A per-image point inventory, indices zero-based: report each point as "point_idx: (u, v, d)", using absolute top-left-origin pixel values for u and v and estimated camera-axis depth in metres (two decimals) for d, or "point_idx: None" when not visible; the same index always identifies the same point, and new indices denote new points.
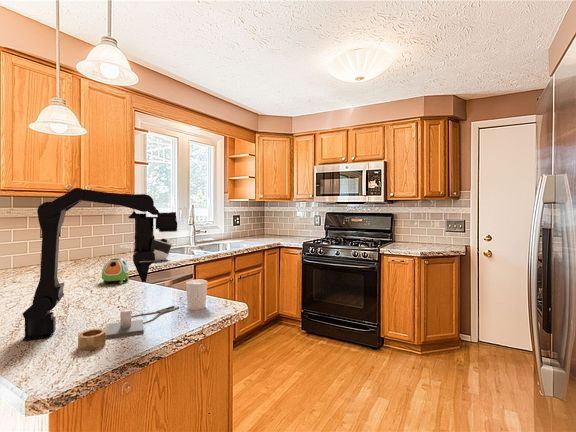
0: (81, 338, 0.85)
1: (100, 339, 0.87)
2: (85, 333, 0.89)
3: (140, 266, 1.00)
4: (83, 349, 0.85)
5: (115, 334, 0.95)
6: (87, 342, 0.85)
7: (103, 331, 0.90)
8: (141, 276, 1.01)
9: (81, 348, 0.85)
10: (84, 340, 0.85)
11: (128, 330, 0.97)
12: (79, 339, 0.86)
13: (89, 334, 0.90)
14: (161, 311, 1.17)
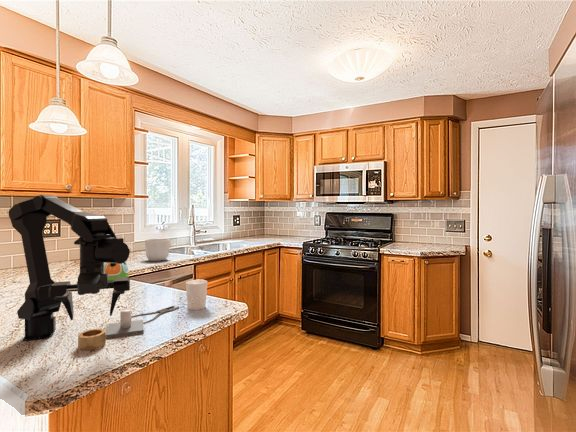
0: (81, 338, 0.85)
1: (100, 339, 0.87)
2: (85, 333, 0.89)
3: None
4: (83, 349, 0.85)
5: (115, 334, 0.95)
6: (87, 342, 0.85)
7: (103, 331, 0.90)
8: None
9: (81, 348, 0.85)
10: (84, 340, 0.85)
11: (128, 330, 0.97)
12: (79, 339, 0.86)
13: (89, 334, 0.90)
14: (161, 311, 1.17)
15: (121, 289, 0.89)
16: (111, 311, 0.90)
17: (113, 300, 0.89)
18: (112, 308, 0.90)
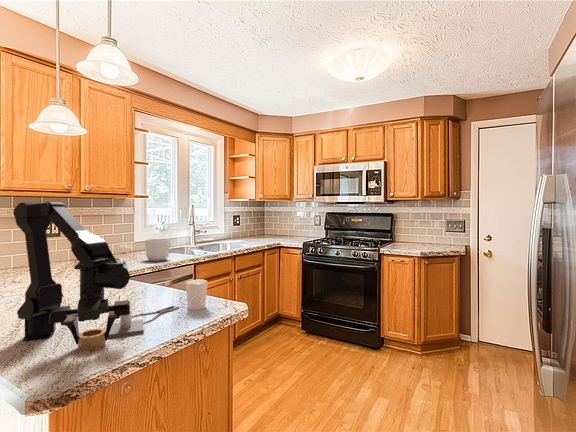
0: (81, 338, 0.85)
1: (100, 339, 0.87)
2: (85, 333, 0.89)
3: None
4: (83, 349, 0.85)
5: (115, 334, 0.95)
6: (87, 342, 0.85)
7: (103, 331, 0.90)
8: None
9: (81, 348, 0.85)
10: (84, 340, 0.85)
11: (128, 330, 0.97)
12: (79, 339, 0.86)
13: (89, 334, 0.90)
14: (161, 311, 1.17)
15: (121, 313, 0.89)
16: (106, 336, 0.89)
17: (109, 324, 0.89)
18: (107, 333, 0.89)
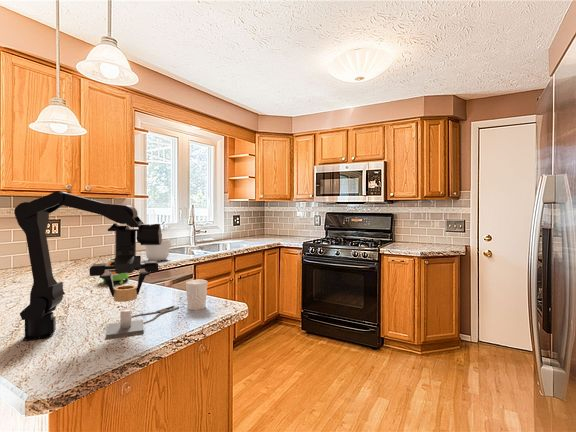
0: (117, 291, 0.97)
1: (133, 292, 0.98)
2: (119, 287, 1.00)
3: None
4: (118, 300, 0.97)
5: (115, 334, 0.95)
6: (122, 294, 0.96)
7: (135, 286, 1.01)
8: None
9: (117, 299, 0.97)
10: (119, 292, 0.96)
11: (128, 330, 0.97)
12: (115, 292, 0.97)
13: (122, 289, 1.01)
14: (161, 311, 1.17)
15: (151, 270, 1.00)
16: (138, 290, 1.01)
17: (140, 280, 1.00)
18: (139, 288, 1.00)
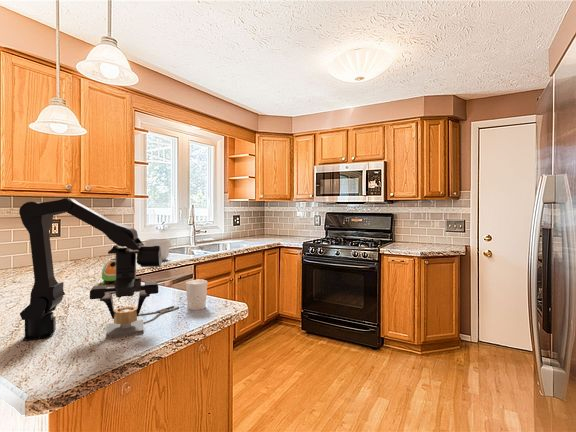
0: (117, 313, 0.97)
1: (133, 314, 0.99)
2: (119, 309, 1.01)
3: None
4: (119, 323, 0.97)
5: (115, 334, 0.95)
6: (122, 316, 0.97)
7: (135, 308, 1.01)
8: None
9: (117, 322, 0.97)
10: (119, 315, 0.97)
11: (128, 330, 0.97)
12: (115, 314, 0.97)
13: None
14: (161, 311, 1.17)
15: (151, 292, 1.00)
16: (138, 312, 1.01)
17: (140, 302, 1.00)
18: (139, 309, 1.01)
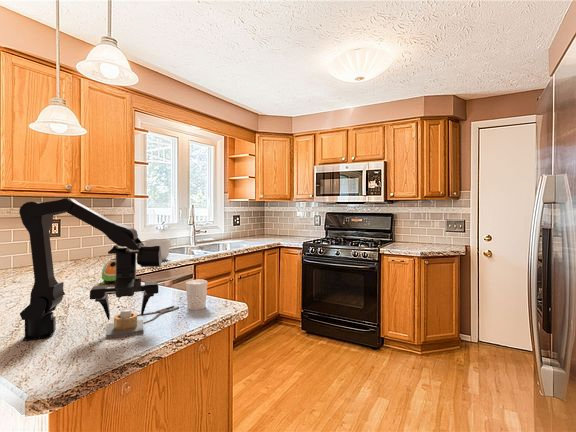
0: (117, 320, 0.97)
1: (133, 321, 0.99)
2: (119, 315, 1.01)
3: None
4: (119, 329, 0.97)
5: (115, 334, 0.95)
6: (122, 323, 0.97)
7: (135, 314, 1.01)
8: None
9: (117, 328, 0.97)
10: (120, 321, 0.97)
11: (128, 330, 0.97)
12: (115, 321, 0.97)
13: None
14: (161, 311, 1.17)
15: (151, 292, 1.00)
16: (142, 311, 1.01)
17: (144, 302, 1.01)
18: (143, 309, 1.01)
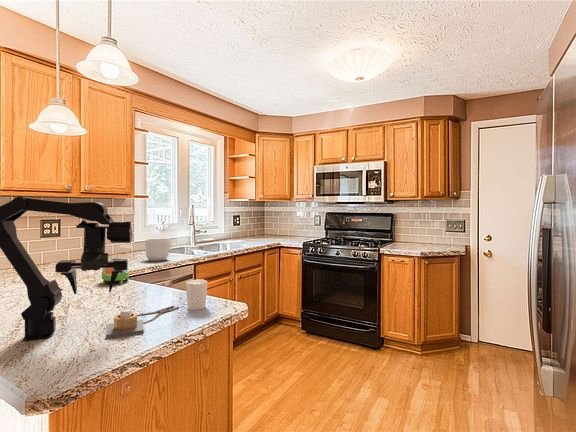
0: (117, 320, 0.97)
1: (133, 321, 0.99)
2: (119, 315, 1.01)
3: None
4: (119, 329, 0.97)
5: (115, 334, 0.95)
6: (122, 323, 0.97)
7: (135, 314, 1.01)
8: None
9: (117, 328, 0.97)
10: (120, 321, 0.97)
11: (128, 330, 0.97)
12: (115, 321, 0.97)
13: None
14: (161, 311, 1.17)
15: (119, 268, 0.99)
16: (110, 288, 1.00)
17: (113, 278, 1.00)
18: (111, 285, 1.00)
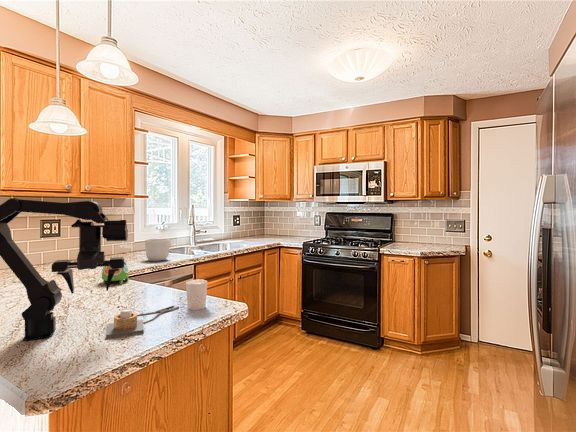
0: (117, 320, 0.97)
1: (133, 321, 0.99)
2: (119, 315, 1.01)
3: None
4: (119, 329, 0.97)
5: (115, 334, 0.95)
6: (122, 323, 0.97)
7: (135, 314, 1.01)
8: None
9: (117, 328, 0.97)
10: (120, 321, 0.97)
11: (128, 330, 0.97)
12: (115, 321, 0.97)
13: None
14: (161, 311, 1.17)
15: (116, 266, 0.99)
16: (107, 286, 1.01)
17: (109, 276, 1.00)
18: (108, 284, 1.01)
